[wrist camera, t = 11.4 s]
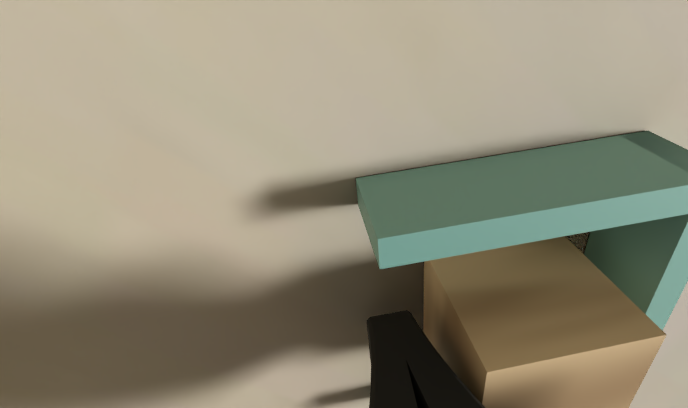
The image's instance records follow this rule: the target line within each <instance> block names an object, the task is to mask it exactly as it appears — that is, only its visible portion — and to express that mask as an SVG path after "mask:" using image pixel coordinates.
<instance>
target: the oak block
mask: <svg viewBox="0 0 688 408" xmlns="http://www.w3.org/2000/svg"><path fill="white" fill-rule="evenodd" d="M423 332H424V334H425V335H426V337H427V338H428V339H429V341H430V342H431V344H432V345H433V346H434V348H435V349H436V350H437V352H438V353H439V354H440V356H441V357H442V358H443V359H444V361H445V362H446V363H447V364H448V365H449V367H450V368H451V369H452V370H453V372H454V373H455V374H456V375H457V376H458V378H459V379H460V380H461V381H462V382H463V384H464V385H465V386H466V387H467V388H468V389H469V390H470V392H471V393H472V394H473V395H474V396H475V397H476V398H477V399H478V400H479V401H480V403H481V404H482V405H483V406H484V407H485V408H629V406H630V404H631V402H632V400H633V398H634V396H635V394H636V392H637V390H638V388H639V387H640V385H641V383H642V381H643V379H644V377H645V375H646V373H647V371H648V369H649V367H650V365H651V364H652V362H653V360H654V358H655V356H656V354H657V352H658V350H659V348H660V346H661V344H662V343H663V341H664V339H665V337H666V334H665V333H664V332H663V331H662V330H661V329H660V328H659V327H658V326H657V325H656V324H655V323H654V322H653V321H652V320H651V319H650V318H649V317H648V316H647V315H646V314H645V313H644V312H643V311H642V310H640V309H639V308H638V307H637V306H636V305H635V304H634V303H633V302H632V301H631V300H630V299H629V298H628V297H627V296H626V295H625V294H624V293H623V292H622V291H621V290H620V289H619V288H618V287H617V286H616V285H615V284H614V283H613V282H612V281H611V280H610V279H609V278H608V277H606V276H605V275H604V274H603V273H602V272H601V271H600V270H599V269H598V268H597V267H596V266H595V265H594V264H593V263H592V262H591V261H590V260H589V259H588V258H587V257H586V256H585V255H584V254H583V253H582V252H581V251H580V250H579V249H578V248H577V247H576V246H575V245H573V244H572V243H571V242H570V241H569V240H568V239H567V238H566V237H565V236H563V237H557V238H552V239H546V240H541V241H535V242H529V243H524V244H518V245H513V246H507V247H502V248H496V249H491V250H485V251H479V252H474V253H468V254H463V255H457V256H452V257H446V258H441V259H435V260H429V261H424V311H423Z"/></svg>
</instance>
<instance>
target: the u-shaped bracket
mask: <svg viewBox="0 0 688 408" xmlns="http://www.w3.org/2000/svg"><path fill="white" fill-rule="evenodd" d="M356 187H357V197H358V206H359V209H360V212H361V215H362V218H363V221H364V224H365V227H366V230H367V233H368V236H369V239H370V242H371V245H372V248H373V251H374V254H375V257H376V260H377V263H378V266H379V269H385V268H390V267H396V266H402V265H407V264H413V263H418V262H424V261H429V260H435V259H441V258H446V257H452V256H457V255H463V254H468V253H474V252H479V251H485V250H491V249H496V248H502V247H507V246H513V245H518V244H524V243H529V242H535V241H541V240H546V239H552V238H557V237H563V236H568V235H574V234H579V233H585V232H590V235H589V239H588V242H587V246H586V249H585V252H584V255H585V256H586V257H587V258H588V259H589V260H590V261H591V262H592V263H593V264H594V265H595V266H596V267H597V268H598V269H599V270H600V271H601V272H602V273H603V274H604V275H605V276H606V277H608V278H609V279H610V280H611V281H612V282H613V283H614V284H615V285H616V286H617V287H618V288H619V289H620V290H621V291H622V292H623V293H624V294H625V295H626V296H627V297H628V298H629V299H630V300H631V301H632V302H633V303H634V304H635V305H636V306H637V307H638V308H639V309H640V310H642V311H643V312H644V313H645V314H646V315H647V316H648V317H649V318H650V319H651V320H652V321H653V322H654V323H655V324H656V325H657V326H658V327H659V328H660V329H661V330H663V328H664V326H665V324H666V322H667V320H668V318H669V317H670V315H671V313H672V311H673V309H674V307H675V305H676V303H677V301H678V299H679V297H680V295H681V293H682V291H683V289H684V287H685V285H686V283H687V281H688V150H687V149H685V148H683V147H681V146H679V145H676V144H674V143H672V142H670V141H668V140H666V139H664V138H662V137H660V136H658V135H656V134H654V133H652V132H650V131H643V132H637V133H631V134H625V135H619V136H612V137H606V138H600V139H594V140H588V141H582V142H576V143H569V144H563V145H557V146H551V147H545V148H539V149H533V150H526V151H520V152H514V153H508V154H502V155H496V156H490V157H483V158H477V159H471V160H465V161H459V162H453V163H447V164H440V165H434V166H428V167H422V168H416V169H410V170H404V171H397V172H391V173H385V174H379V175H373V176H367V177H361V178H356Z"/></svg>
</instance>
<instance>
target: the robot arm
mask: <svg viewBox="0 0 688 408" xmlns="http://www.w3.org/2000/svg"><path fill="white" fill-rule="evenodd" d="M367 331H368V340H369V350H370V359H371V393H370V405H369V408H485V407H484V406H483V405H482V404H481V403H480V401H479V400H478V399H477V398H476V397H475V396H474V395H473V394H472V393H471V392H470V390H469V389H468V388H467V387H466V386H465V385H464V384H463V382H462V381H461V380H460V379H459V378H458V376H457V375H456V374H455V373H454V372H453V370H452V369H451V368H450V367H449V365H448V364H447V363H446V362H445V361H444V359H443V358H442V357H441V356H440V354H439V353H438V352H437V350H436V349H435V348H434V346H433V345H432V344H431V342H430V341H429V339H428V338H427V337H426V335H425V334H424V332H423V331H422V329H421V328H420V327H419V325H418V323H417V322H416V320H415V319H414V317H413V315H412V314H411V312H409V311H407V310H406V311H400V312H395V313H390V314H384V315H379V316H374V317H370V318H369V319H368V320H367Z"/></svg>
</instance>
